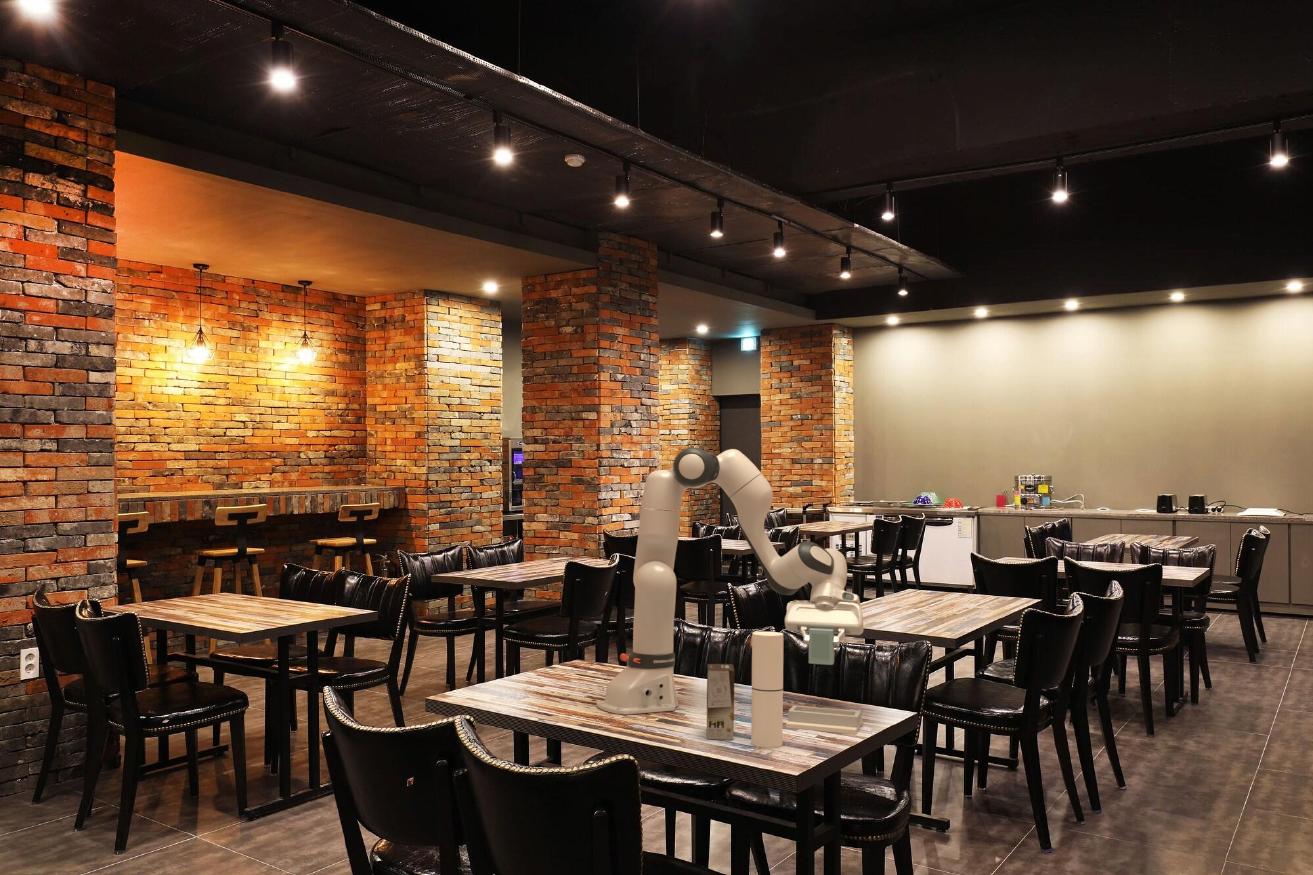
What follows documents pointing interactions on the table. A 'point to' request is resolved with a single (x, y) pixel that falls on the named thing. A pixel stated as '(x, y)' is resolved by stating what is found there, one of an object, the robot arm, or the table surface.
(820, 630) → the door
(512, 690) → the table surface
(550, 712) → the table surface
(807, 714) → the track
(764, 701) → the cylindrical container
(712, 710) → the coffee box
